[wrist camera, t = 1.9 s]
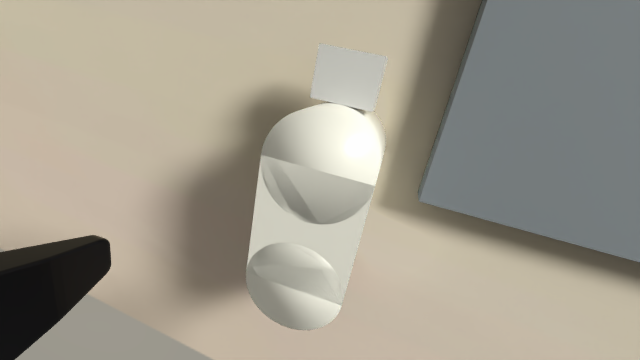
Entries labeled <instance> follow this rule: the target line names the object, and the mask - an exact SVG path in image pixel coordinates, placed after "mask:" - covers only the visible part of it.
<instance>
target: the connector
mask: <svg viewBox="0 0 640 360" xmlns="http://www.w3.org/2000/svg"><path fill="white" fill-rule="evenodd" d="M387 60H388V58H387V57H386V56H382V55H377V54H372V53H367V52H362V51H357V50H352V49H347V48H341V47H336V46H331V45H326V44H321V43H319V48H318V54H317V60H316V65H315V71H314V77H313V82H312V88H311V94H310V98H314V99H319V100H323V101H327V102H324V103H321V104H318V105H315V106H311V107H308V108H305V109H302V110H299V111H296V112H293V113H291V114H289V115H287V116H285V117H284V118H282V119H281V120H280V121H279V122H277V123H276V125H275V126H274V127H273V128H272V129H271V131H270V132H269V133H268V135H267V137H266V139H265V141H264V144H263V147H262V152H261V159H260V167H259V175H258V183H257V190H256V198H255V206H254V214H253V222H252V230H251V238H250V245H249V253H248V261H247V269H246V284H247V288H248V291H249V294H250V296H251V298H252V300H253V301H254V303H255V304H256V305H257V307H258V308H259V309H260V310H261V311H262V312H263V313H264V314H265V315H266V316H267V317H269V318H270V319H272V320H273V321H275V322H277V323H278V324H280V325H283V326H285V327H288V328H292V329H297V330H313V329H318V328H321V327H323V326H325V325H327V324H329V323H330V322H331V321H332V320H334V318H335V317H336V316H337V315H338V313H339V311H340V309H341V306H342V303H343V299H344V296H345V292H346V288H347V285H348V281H349V278H350V274H351V271H352V267H353V263H354V260H355V256H356V253H357V249H358V246H359V242H360V238H361V235H362V231H363V228H364V224H365V221H366V217H367V213H368V210H369V206H370V203H371V199H372V195H373V192H374V188H375V185H376V181H377V177H378V174H379V170H380V167H381V163H382V159H383V156H384V152H385V148H386V133H385V129H384V126H383V123H382V121H381V119H380V118H379V116H378V115H377V114H376V112H375V111H374V110H375V107H376V103H377V99H378V95H379V91H380V87H381V83H382V79H383V75H384V71H385V67H386V64H387Z"/></svg>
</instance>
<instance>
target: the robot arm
mask: <svg viewBox="0 0 640 360" xmlns="http://www.w3.org/2000/svg"><path fill="white" fill-rule="evenodd" d="M110 267H111V253H110V243H109V241H108V240H107V239H105V238H102V237H99V236H96V235H90V236H85V237H79V238H74V239H69V240H63V241H58V242H53V243H47V244H42V245H37V246H31V247H26V248H21V249H15V250H10V251H5V252H0V360H15V359H16V358H17V357H18V356H19V355H20V354H22V353H23V352H24V351H25V350H26V349H27V348H29V347H30V346H31V345H32V344H33V343H34V342H35V341H37V340H38V339H39V338H40V337H41V336H43V334H45V333H46V332H47V331H48V330H50V329H51V328H52V327H53V326H54V325H55V324H56V323H57V322H58V321H60V320H61V319H62V318H63V317H64V316H65V315H66V314H67V313H68V312H69V311H70V310H71V309H72V308H73V307H74V306H75V305H76V304H77V303H78V302H79V301H80V300H81V299H82V298H83V297H84V296H85V295H86V294H87V293H88V292H89V291H90V290H91V289H92V288H93V287H94V286H95V285H96V284H97V283H98V282H99V281H100V280H101V279H102V278H103V277H104V276H105V275H106V274H107V272H108V271H109V269H110Z"/></svg>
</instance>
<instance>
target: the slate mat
mask: <svg viewBox="0 0 640 360" xmlns="http://www.w3.org/2000/svg"><path fill="white" fill-rule="evenodd" d="M418 198H419V202H423V203H426V204H430V205H434V206H437V207H441V208H444V209H448V210H452V211H455V212H459V213H463V214H466V215H470V216H473V217H477V218H481V219H484V220H488V221H492V222H495V223H499V224H502V225H506V226H510V227H513V228H517V229H520V230H524V231H528V232H531V233H535V234H539V235H542V236H546V237H549V238H553V239H557V240H560V241H564V242H568V243H571V244H575V245H578V246H582V247H586V248H589V249H593V250H597V251H600V252H604V253H607V254H611V255H615V256H618V257H622V258H626V259H629V260H633V261H636V262H640V0H482V3H481V6H480V9H479V12H478V15H477V18H476V21H475V24H474V27H473V30H472V33H471V36H470V39H469V42H468V44H467V47H466V50H465V53H464V56H463V59H462V62H461V65H460V68H459V71H458V74H457V77H456V80H455V83H454V86H453V89H452V92H451V95H450V98H449V101H448V104H447V107H446V110H445V113H444V116H443V119H442V122H441V125H440V128H439V131H438V134H437V137H436V140H435V143H434V146H433V149H432V152H431V155H430V158H429V161H428V163H427V166H426V169H425V172H424V175H423V178H422V181H421V184H420V187H419V190H418Z"/></svg>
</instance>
